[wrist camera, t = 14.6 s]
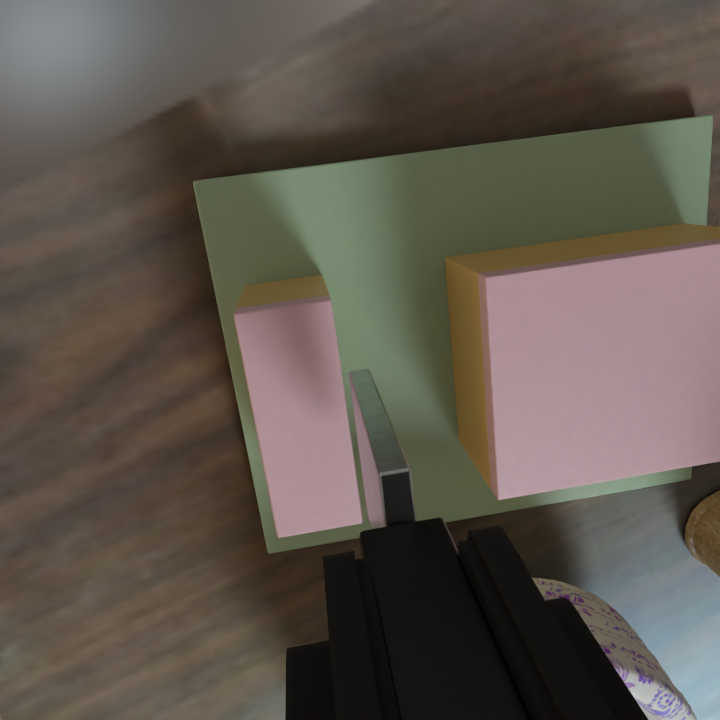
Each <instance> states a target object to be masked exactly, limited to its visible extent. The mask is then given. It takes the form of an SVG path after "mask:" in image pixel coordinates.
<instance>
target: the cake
mask: <svg viewBox="0 0 720 720" xmlns="http://www.w3.org/2000/svg"><path fill="white" fill-rule="evenodd" d="M445 269H446V282H447V295H448V308H449V320H450V333H451V346H452V359H453V372H454V385H455V398H456V411H457V423H458V436H459V441H460V443H461V444H462V446H463V447H464V449H465V451H466V452H467V454H468V455H469V457H470V458H471V460H472V461H473V463H474V464H475V466H476V467H477V469H478V470H479V472H480V473H481V475H482V476H483V478H484V479H485V481H486V483H487V484H488V486H489V487H490V488H491V490H492V492H493V493H494V495H495V496H496V498H497V499H498V500H502V499H508V498H514V497H519V496H525V495H531V494H537V493H542V492H548V491H554V490H559V489H565V488H571V487H577V486H582V485H588V484H594V483H599V482H605V481H611V480H617V479H622V478H628V477H634V476H639V475H645V474H651V473H657V472H662V471H668V470H674V469H679V468H685V467H691V466H697V465H702V464H708V463H714V462H719V461H720V227H715V226H705V225H695V224H686V223H683V224H676V225H669V226H662V227H655V228H648V229H641V230H634V231H627V232H620V233H613V234H606V235H599V236H592V237H584V238H577V239H570V240H563V241H556V242H549V243H542V244H535V245H528V246H521V247H514V248H507V249H500V250H493V251H486V252H479V253H472V254H465V255H458V256H451V257H445Z"/></svg>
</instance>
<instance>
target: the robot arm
mask: <svg viewBox="0 0 720 720" xmlns="http://www.w3.org/2000/svg"><path fill="white" fill-rule="evenodd" d="M458 555H459V557H460V560H461V562H462V564H463V566H464V569H465V571H466V573H467V575H468V578H469V580H470V582H471V584H472V587H473V589H474V591H475V593H476V596H477V598H478V600H479V602H480V605H481V607H482V609H483V611H484V614H485V616H486V618H487V620H488V623H489V625H490V627H491V629H492V632H493V634H494V636H495V638H496V641H497V643H498V645H499V647H500V650H501V652H502V654H503V656H504V659H505V661H506V663H507V665H508V668H509V670H510V672H511V674H512V677H513V679H514V681H515V683H516V686H517V688H518V690H519V692H520V695H521V697H522V699H523V701H524V704H525V706H526V708H527V710H528V713H529V715H530V717H531V719H532V720H648V718H647V717H646V715H645V714H644V712H643V711H642V709H641V707H640V706H639V704H638V703H637V701H636V700H635V698H634V697H633V695H632V694H631V692H630V691H629V689H628V688H627V686H626V685H625V683H624V681H623V680H622V678H621V677H620V675H619V674H618V672H617V671H616V669H615V668H614V666H613V665H612V663H611V662H610V660H609V659H608V657H607V655H606V654H605V652H604V651H603V649H602V648H601V646H600V645H599V643H598V642H597V640H596V639H595V637H594V636H593V634H592V633H591V631H590V629H589V628H588V626H587V625H586V623H585V622H584V620H583V619H582V617H581V616H580V614H579V613H578V611H577V610H576V608H575V607H574V605H573V604H572V603H571V602H570V600H568V599H567V598H565V597H561V598H556V599H550V600H545V599H544V597H543V596H542V594H541V592H540V591H539V589H538V587H537V586H536V584H535V582H534V581H533V579H532V577H531V576H530V574H529V572H528V570H527V569H526V567H525V565H524V564H523V562H522V560H521V559H520V557H519V555H518V554H517V552H516V550H515V549H514V547H513V545H512V544H511V542H510V540H509V539H508V537H507V535H506V533H505V532H504V530H503V529H502V527H500V526H495V527H489V528H483V529H478V530H472V531H469V532H468V535H467V540H465V541H460V542H458ZM323 567H324V579H325V591H326V603H327V616H328V628H329V641H324V642H318V643H313V644H308V645H302V646H297V647H291V648H288V649H287V656H286V720H400V718H399V713H398V708H397V703H396V698H395V693H394V688H393V683H392V678H391V673H390V668H389V663H388V658H387V653H386V648H385V643H384V638H383V633H382V628H381V623H380V618H379V613H378V608H377V603H376V598H375V593H374V588H373V582H372V577H371V572H370V567H369V562H368V558H363V559H358V560H355V555H354V551H352V552H346V553H341V554H335V555H329V556H324V557H323Z"/></svg>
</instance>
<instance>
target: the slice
mask: <svg viewBox="0 0 720 720" xmlns="http://www.w3.org/2000/svg"><path fill="white" fill-rule="evenodd" d="M234 320H235V325H236V330H237V335H238V341H239V346H240V351H241V356H242V361H243V366H244V371H245V376H246V381H247V386H248V391H249V396H250V402H251V407H252V412H253V417H254V422H255V427H256V432H257V437H258V442H259V447H260V452H261V457H262V462H263V468H264V473H265V478H266V483H267V488H268V493H269V498H270V503H271V508H272V513H273V518H274V523H275V528H276V534H277V536H278V538H282V537H287V536H293V535H299V534H304V533H310V532H316V531H321V530H327V529H333V528H338V527H344V526H350V525H355V524H361V523H362V522H363V518H362V511H361V504H360V497H359V490H358V483H357V476H356V469H355V462H354V455H353V448H352V441H351V434H350V427H349V420H348V413H347V406H346V399H345V392H344V385H343V377H342V370H341V363H340V356H339V349H338V342H337V335H336V328H335V321H334V314H333V307H332V301H331V298H330V294H329V292H328V289H327V286H326V283H325V280H324V278H323V275H314V276H307V277H300V278H293V279H286V280H279V281H273V282H266V283H259V284H252V285H246V286H245V288H244V290H243V292H242V295H241V297H240V299H239V302H238V304H237V306H236V310H235V312H234Z"/></svg>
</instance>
